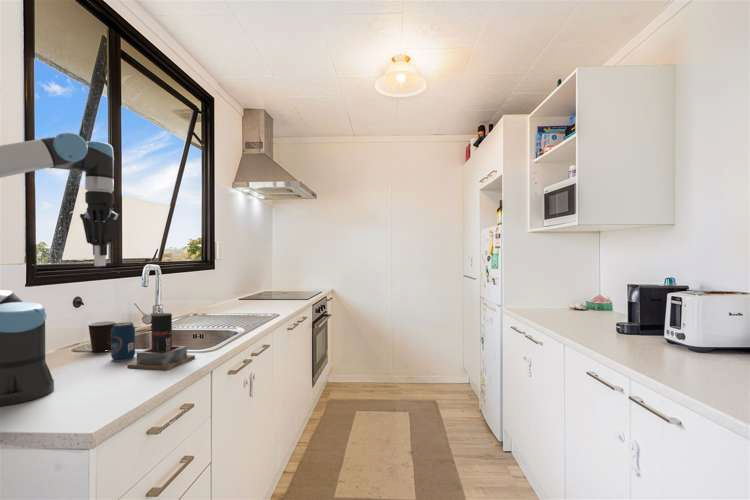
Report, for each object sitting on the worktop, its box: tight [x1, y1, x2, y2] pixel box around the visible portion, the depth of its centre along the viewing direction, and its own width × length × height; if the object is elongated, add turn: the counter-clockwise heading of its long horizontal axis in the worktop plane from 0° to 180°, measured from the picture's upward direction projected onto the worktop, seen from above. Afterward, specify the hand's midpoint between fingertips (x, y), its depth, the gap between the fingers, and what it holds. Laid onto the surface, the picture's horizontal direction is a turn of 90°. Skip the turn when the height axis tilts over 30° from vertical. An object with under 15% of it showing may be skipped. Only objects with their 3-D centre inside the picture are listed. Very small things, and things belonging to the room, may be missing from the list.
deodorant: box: [150, 312, 173, 353], centre depth 132 cm, size 6×6×15 cm
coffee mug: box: [87, 320, 117, 353], centre depth 150 cm, size 12×9×10 cm
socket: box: [127, 345, 196, 371], centre depth 132 cm, size 14×14×4 cm
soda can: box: [110, 322, 136, 362], centre depth 137 cm, size 7×7×12 cm
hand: (100, 265), depth 127 cm, fingers closed
